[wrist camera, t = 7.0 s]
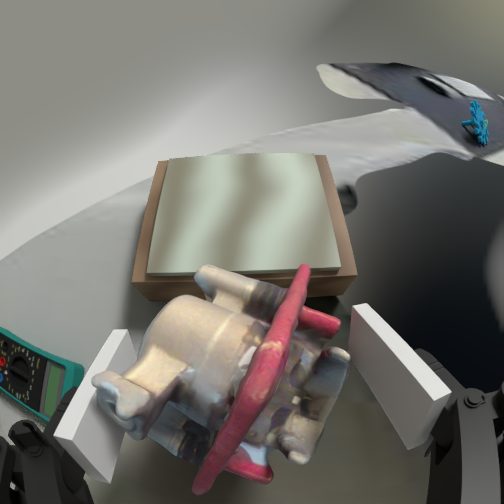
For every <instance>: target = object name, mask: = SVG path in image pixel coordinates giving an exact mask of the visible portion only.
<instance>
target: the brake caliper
mask: <svg viewBox="0 0 504 504" xmlns="http://www.w3.org/2000/svg"><path fill="white" fill-rule="evenodd" d="M310 276H311V269H310V267H309V266H308V265H307V264H301V265H300V266H299V267H298V269H297V271H296V273H295V276H294V278H293V281H292V284H291V285H290V287H289V288H281V287H278V286H276V285H274V284H271V283H268V282H263V281H260V280H256V279H252V278H248V277H245V276H243V275H240V274H237V273H234V272H230V271H227V270H224V269H221V268H218V267H216V266H213V265H210V264H204V265H202V266H200V267H199V268H198V270H197V271H196V273H195V275H194V280H195V282H196V283H197V284H198V285H199V286H200V288H201V289H202V290H203V292H204V294H205V296H206V301H205V300H203V299H200V298H197V297H194V296H191V295H182V296H179V297H176V298H174V299H172V300H171V301H170V302H168V303H167V304H166V305H165V306H164V307H163V308H162V310H161V311H160V312H159V313H158V314H157V316H156V317H155V318H154V319H153V321H152V322H151V324H150V325H149V327H148V328H147V330H146V332H145V334H144V336H143V339H142V342H141V345H140V349H139V353H138V358H137V361H136V362H135V363H134V364H133V365H132V366H131V367H129V368H128V369H127V370H126V371H125V372H123V373H122V374H121V375H119V374H117V373H115V372H113V371H103V372H101V373H98V374H96V375H95V376H93V377H92V379H91V383H92V385H93V386H94V387H95V388H97V390H96V392H97V399H98V404H99V405H100V406H101V408H102V409H103V410H104V411H105V412H106V413H107V414H108V415H109V416H110V417H111V418H112V419H113V420H114V421H115V422H116V424H117V425H118V426H120V427H121V428H122V429H123V430H125V432H127V433H128V435H129V436H130V437H131V438H133V439H134V440H142V439H144V438H145V437H146V436H148V437H150V438H151V439H153V440H155V441H156V442H158V443H159V444H161V445H162V446H163V447H165V448H166V449H167V450H168V451H169V452H171V453H172V454H173V455H175V456H177V457H179V458H181V459H184V460H187V461H189V462H191V463H193V464H194V465H196V466H197V467H198V468H199V469H200V470H199V471H198V473H197V474H196V476H195V479H194V482H193V485H192V491H193V493H195V494H196V495H203V494H205V493H206V492H208V491H209V490H210V489H211V487H212V485H213V483H214V481H215V479H216V477H217V476H218V475H219V474H220V473H221V472H222V471H223V470H225V471H228V472H231V473H234V474H237V475H239V476H242V477H244V478H246V479H249V480H252V481H255V482H259V483H262V484H268V483H270V482H271V481H272V479H273V477H274V473H273V471H272V470H271V467H270V465H269V463H268V461H267V454H268V453H269V452H270V451H272V450H275V449H279V450H280V451H281V452H282V453H283V454H284V455H285V456H286V458H287V459H288V460H289V461H291V462H292V463H295V464H300V465H302V464H306V463H307V462H308V461H309V460H310V458H311V456H312V455H313V454H314V453H315V451H316V449H317V446H318V443H319V441H320V439H321V437H322V435H323V431H324V427H325V422H326V420H327V417H328V415H329V414H330V412H331V410H332V408H333V406H334V404H335V402H336V400H337V398H338V396H339V394H340V392H341V390H342V387H343V385H344V382H345V380H346V378H347V377H348V375H349V368H350V365H351V361H352V360H351V356H350V355H349V354H348V353H347V352H346V351H344V350H343V349H341V348H338V347H330V348H327V349H324V350H323V351H322V347H323V345H324V344H325V343H326V342H328V341H329V340H330V339H332V337H333V336H334V335H335V334H336V333H337V332H338V330H339V328H340V325H341V321H340V320H339V319H337V318H336V317H333V316H330V315H328V314H325V313H322V312H319V311H316V310H313V309H311V308H308V307H306V306H304V303H305V300H306V296H307V286H308V283H309V280H310Z"/></svg>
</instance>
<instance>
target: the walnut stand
mask: <svg viewBox="0 0 504 504" xmlns="http://www.w3.org/2000/svg"><path fill="white" fill-rule="evenodd" d="M204 264H210V265H213V266H216V267H218V268H221V269H224V270H227V271H230V272H234V273H237V274H240V275H243V276H245V277H248V278H252V279H256V280H260V281H263V282H268V283H271V284H274V285H276V286H278V287H281V288H289V287H290V285H291V284H292V281H293V278H294V276H295V273H296V271H297V269H298V267H299V266H300V265H301V264H307V265H308V266H309V267H310V269H311V276H310V280H309V283H308V286H307V296H306V297H321V296H336V295H343V294H344V292H345V291H346V290H347V288H348V287H349V286H350V284H351V283H352V282H353V280H354V279H355V278H356V276H357V270H356V265H355V261H354V256H353V252H352V247H351V243H350V239H349V235H348V231H347V227H346V223H345V219H344V215H343V211H342V208H341V204H340V201H339V197H338V194H337V190H336V187H335V183H334V180H333V177H332V173H331V170H330V167H329V164H328V161H327V158H326V155H314V154H307V153H255V154H228V155H211V156H197V157H185V158H176V159H169V160H167V161H159V162H158V165H157V168H156V172H155V175H154V179H153V182H152V186H151V190H150V194H149V198H148V202H147V206H146V210H145V215H144V219H143V223H142V228H141V233H140V238H139V243H138V248H137V253H136V258H135V264H134V270H133V276H132V283H133V284H134V285H135V286H136V287H137V288H138V289H139V291H140V292H141V293H142V294H143V295H144V296H145V297H146V298H147V299H148V300H149V301H171V300H172V299H174V298H176V297H179V296H182V295H191V296H194V297H197V298H200V299H203V300H205V301H206V296H205V294H204V292H203V290H202V289H201V288H200V286H199V285H198V284H197V283H196V282H195V280H194V275H195V273H196V271H197V270H198V268H199V267H200V266H202V265H204Z"/></svg>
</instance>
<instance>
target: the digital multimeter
mask: <svg viewBox="0 0 504 504" xmlns="http://www.w3.org/2000/svg"><path fill="white" fill-rule="evenodd" d="M12 340H13V341H12ZM83 377H84V367H83V366H82V365H80V364H77V363H74V362H71V361H69V360H66V359H63V358H60V357H58V356H55V355H52V354H50V353H48V352H46V351H43V350H41V349H39V348H37V347H35V346H33V345H31V344H29V343H27V342H26V341H24V340H22V339H20V338H19V337H17V336H16V335H14V334H12V333H11V332H9V331H8V330H6V329H4V328H2V327H0V390H1V391H2V392H3V393H5V394H6V395H8V396H9V397H11V398H12V399H13V400H15V401H16V402H18V403H19V404H20V405H22V406H23V407H25V408H26V409H28V410H29V411H30V412H32V413H33V414H35V415H36V416H38V417H39V418H40V419H42V420H43V421H45V422H46V423H48V422H49V421H50V419H51V417H52V415H53V413H54V412H55V411H56V408H57V406H58V405H59V404H60V401H61V399H62V398H63V396H64V394H65V393H66V392H67V391H68V390H69V389H71V388H72V387H73V386H76V387H79V386H80V384H81V382H82V381H83Z"/></svg>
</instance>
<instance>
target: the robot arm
mask: <svg viewBox="0 0 504 504" xmlns="http://www.w3.org/2000/svg"><path fill="white" fill-rule="evenodd" d="M347 353H348V354H349V355H350V356H351V359H352V361H353V362H354V364H355V366H356V367H357V369H358V370H359V372H360V373H361V375H362V377H363V378H364V380H365V381H366V383H367V384H368V386H369V388H370V389H371V391H372V392H373V394H374V396H375V397H376V399H377V400H378V402H379V404H380V405H381V407H382V408H383V410H384V412H385V413H386V415H387V416H388V418H389V420H390V421H391V423H392V425H393V426H394V428H395V429H396V431H397V433H398V434H399V436H400V438H401V439H402V441H403V443H404V444H405V446H406V448H407V449H408V450H410V449H412V448H414V447H416V446H418V445H420V444H422V443H424V442H425V441H426V439H427V438H428V436H429V434H430V433H431V434H432V436H433V437H434V440H433V441H432V443H431V445H430V446H429V448H428V449H427V451H426V452H425V456H424V457H427V456H428V454H429V453H430V451H431V456H430V457H431V464H430V477H429V487H428V495H427V503H426V504H504V382H503V384H502V386H501V388H500V389H499V391H495V392H491V393H487V394H484V393H483V392H482V391H480V390H478V389H473V388H469V389H465V388H463V387H462V385H461V384H460V383H459V382H458V381H457V380H456V379H455V378H454V377H453V376H452V375H451V374H450V373H449V372H448V371H447V370H446V369H445V368H443V366H442V365H441V364H440V363H439V362H437V360H436V359H435V358H434V357H433V356H432V355H431V354H430V353H428V352H426V351H424V350H422V349H416V350H412V349H411V348H410V347H409V345H408V344H407V343H406V342H405V341H404V340H403V339H402V338H401V337H400V336H399V335H398V334H397V333H396V332H395V331H394V330H393V329H392V328H391V327H390V326H389V325H388V324H387V323H386V322H385V321H384V320H383V319H382V318H381V317H380V316H379V315H378V314H377V313H376V312H375V311H374V310H373V309H372V308H371V307H370V306H369V305H368V304H366V303H365V304H360V305H355V306H352V315H351V326H350V336H349V344H348V352H347ZM136 361H137V356H136V353H135V350H134V347H133V344H132V341H131V338H130V335H129V332H128V329H121V330H113V331H112V333H111V334H110V336H109V338H108V339H107V341H106V342H105V344H104V346H103V347H102V349H101V350H100V352H99V354H98V355H97V357H96V359H95V360H94V362H93V364H92V365H91V367H90V369H89V370H88V372H87V374H86V376H85V377H84V379H83V381H82V382H81V384H80V386H79V387H76V386H73V387H72V388H71V389H69V390H68V391H67V392H66V393H65V394H64V396H63V398H62V399H61V401H60V404H59V405H58V406H57V408H56V411H55V412H54V413H53V415H52V417H51V419H50V421H49V422H48V424H47V426H46V428H45V430H44V432H43V433H42V432H41V431H40V429H39V428H38V427H37V426H36V424H35V423H34V422H33V421H30V420H21V421H18V422H16V423H15V424H14V425H12V427H11V428H10V430H9V433H8V436H9V438H10V439H11V440H12V441H13V442H14V444H15V445H10V444H9V443H8V442H7V441H6V440H5V439H4V438H3V437H2V436H0V504H94V503H93V500H92V497H91V494H90V491H89V488H88V485H87V483H86V481H85V480H84V479H83V477H84V474H85V472H86V473H87V474H88V475H89V476H90V477H91V478H92V479H93V480H96V481H100V482H105V483H110V484H111V480H112V476H113V472H114V468H115V465H116V461H117V457H118V454H119V450H120V447H121V443H122V440H123V437H124V433H125V430H123V429H122V428H121V427H120V426H118V425H117V424H116V422H115V421H114V420H113V419H112V418H111V417H110V416H109V415H108V414H107V413H106V412H105V411H104V410H103V409H102V408H101V406H100V405H99V404H98V399H97V392H96V390H97V388H95V387H94V386H93V385H92V383H91V379H92V377H93V376H95V375H96V374H98V373H101V372H103V371H113V372H115V373H117V374H119V375H121V374H122V373H123V372H125V371H126V370H127V369H128V368H129V367H131V366H132V365H133V364H134V363H135V362H136ZM11 482H12V483H13V484H14V485H16V486H15V489H14V490H13V489H12V488H10V483H11Z"/></svg>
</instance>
